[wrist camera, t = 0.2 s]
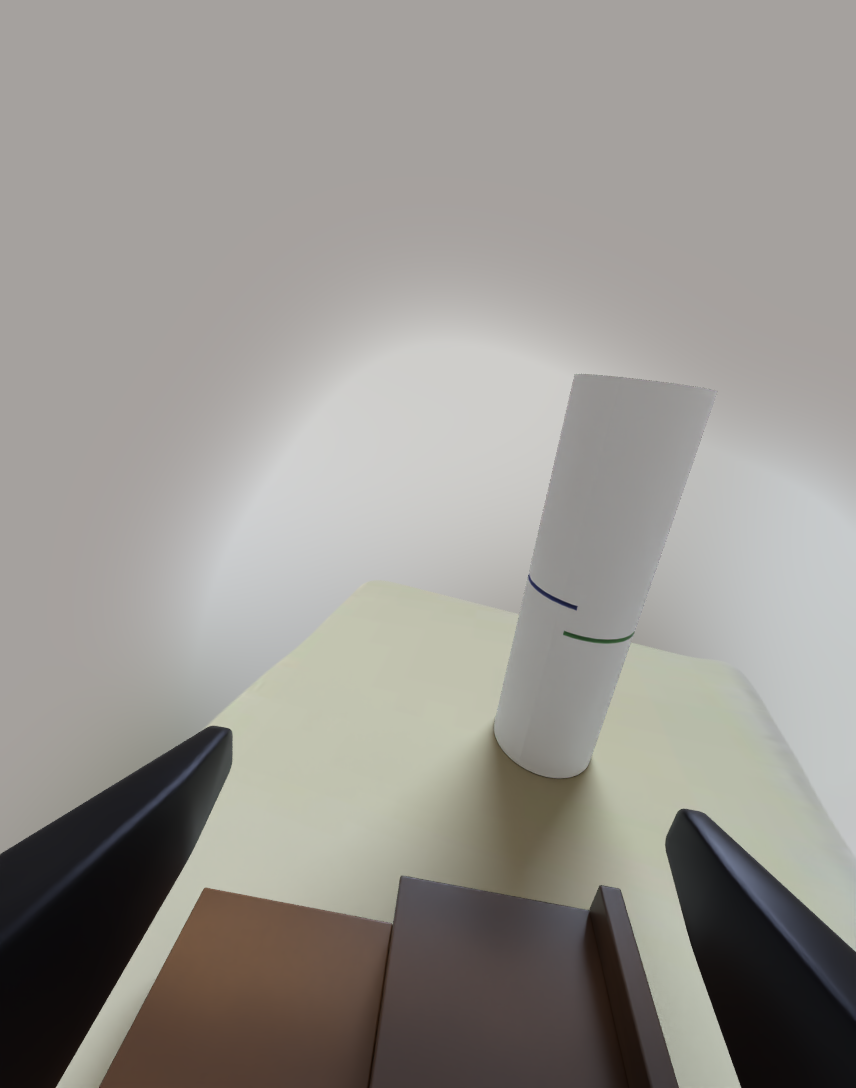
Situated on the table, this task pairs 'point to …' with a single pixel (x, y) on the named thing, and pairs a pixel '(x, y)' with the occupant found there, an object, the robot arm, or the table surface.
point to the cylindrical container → (594, 562)
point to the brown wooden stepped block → (399, 997)
